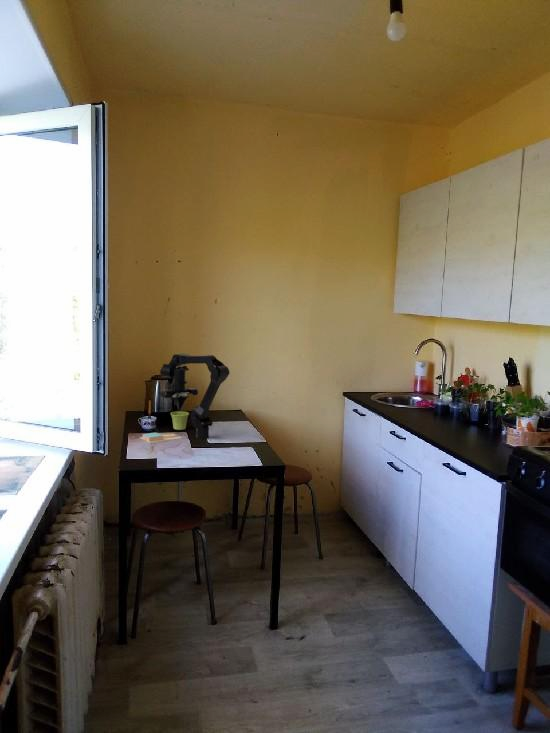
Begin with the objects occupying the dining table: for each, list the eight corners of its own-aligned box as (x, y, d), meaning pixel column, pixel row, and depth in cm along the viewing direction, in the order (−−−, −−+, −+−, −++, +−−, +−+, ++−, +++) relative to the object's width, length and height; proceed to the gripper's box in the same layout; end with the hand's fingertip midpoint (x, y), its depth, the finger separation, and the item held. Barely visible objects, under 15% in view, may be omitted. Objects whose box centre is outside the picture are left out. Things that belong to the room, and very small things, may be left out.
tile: (162, 435, 260) (149, 437, 255) (162, 439, 260) (149, 441, 255) (155, 432, 265) (142, 434, 261) (155, 436, 265) (142, 438, 261)
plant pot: (191, 431, 281) (191, 414, 280) (173, 432, 277) (173, 415, 276) (185, 427, 290) (186, 411, 288) (168, 428, 286) (168, 412, 284)
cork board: (183, 439, 264) (183, 437, 264) (151, 444, 253) (151, 443, 253) (170, 434, 273) (170, 432, 273) (139, 439, 262) (139, 437, 262)
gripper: (187, 375, 283) (187, 405, 285) (154, 378, 271) (154, 408, 273) (199, 378, 274) (198, 409, 276) (165, 381, 262) (165, 413, 264)
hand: (179, 409), depth 272 cm, fingers closed
